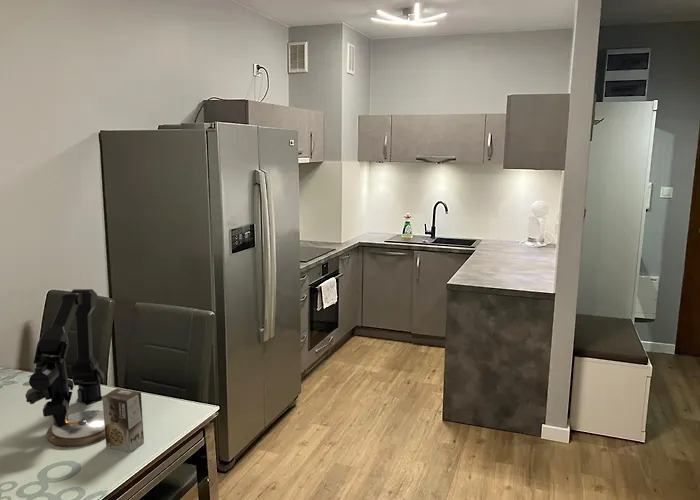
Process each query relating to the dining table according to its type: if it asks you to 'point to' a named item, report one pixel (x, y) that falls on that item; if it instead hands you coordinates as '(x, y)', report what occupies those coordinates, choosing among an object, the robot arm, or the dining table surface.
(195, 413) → the dining table surface
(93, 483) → the dining table surface
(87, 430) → the dial
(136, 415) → the coffee box
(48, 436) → the dial base
